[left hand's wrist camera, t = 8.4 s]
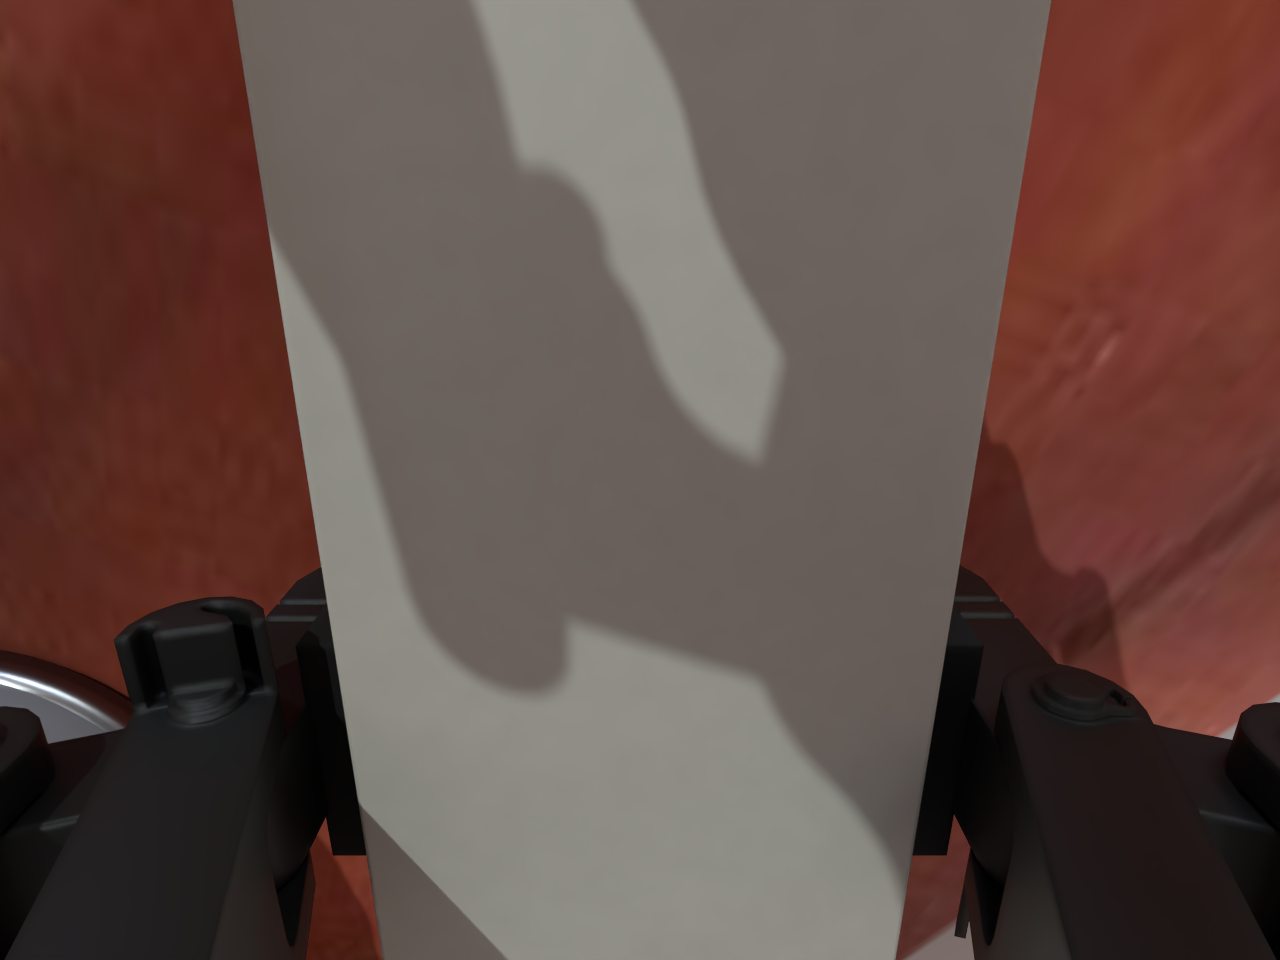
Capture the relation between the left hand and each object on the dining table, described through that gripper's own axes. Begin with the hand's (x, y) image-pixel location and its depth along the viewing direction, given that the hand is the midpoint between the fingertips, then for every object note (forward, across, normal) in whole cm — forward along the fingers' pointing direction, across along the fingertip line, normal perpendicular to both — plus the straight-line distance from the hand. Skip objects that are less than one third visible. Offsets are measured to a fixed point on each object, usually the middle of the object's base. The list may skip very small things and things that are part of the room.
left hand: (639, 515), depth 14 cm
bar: (0, 0, -8) cm, 8 cm away
